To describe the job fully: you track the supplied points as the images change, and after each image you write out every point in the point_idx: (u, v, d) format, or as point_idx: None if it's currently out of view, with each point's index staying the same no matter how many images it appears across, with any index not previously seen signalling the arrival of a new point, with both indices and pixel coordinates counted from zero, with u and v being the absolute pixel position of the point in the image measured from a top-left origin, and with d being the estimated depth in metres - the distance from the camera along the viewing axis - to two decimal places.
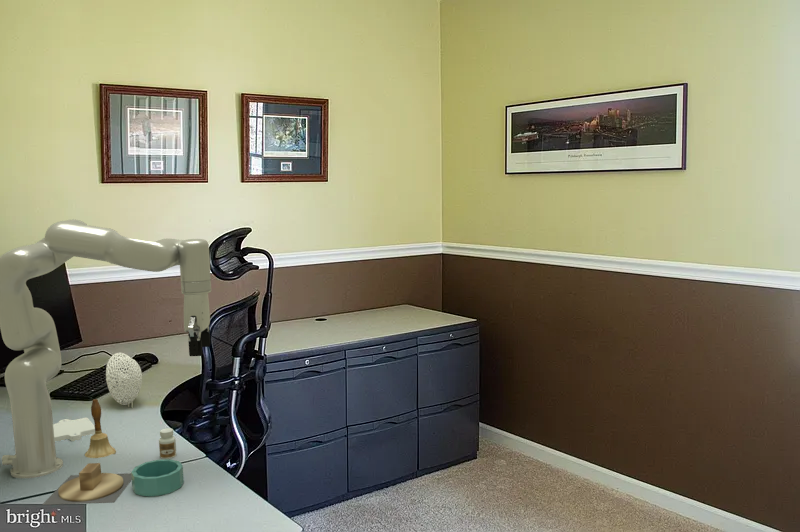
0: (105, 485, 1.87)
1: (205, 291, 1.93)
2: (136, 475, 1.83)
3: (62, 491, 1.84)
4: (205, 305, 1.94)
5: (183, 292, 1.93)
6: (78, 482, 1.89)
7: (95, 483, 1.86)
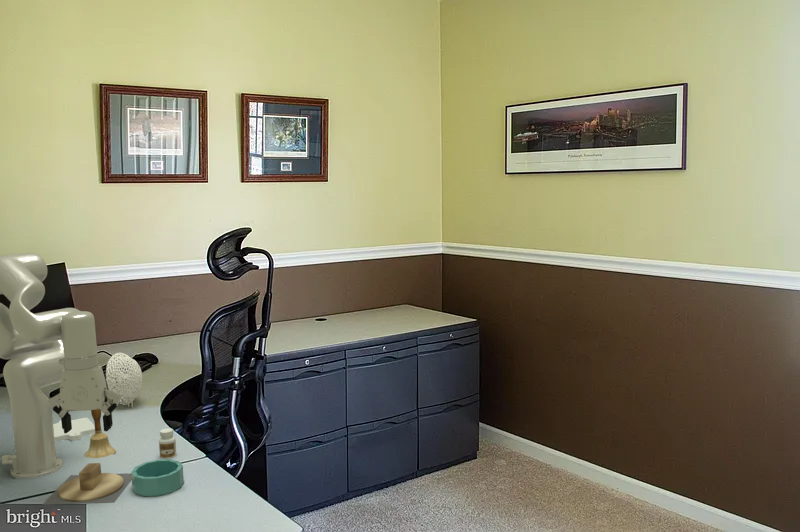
0: (105, 485, 1.87)
1: None
2: (136, 475, 1.83)
3: (62, 491, 1.84)
4: None
5: (88, 368, 1.80)
6: (78, 482, 1.89)
7: (95, 483, 1.86)
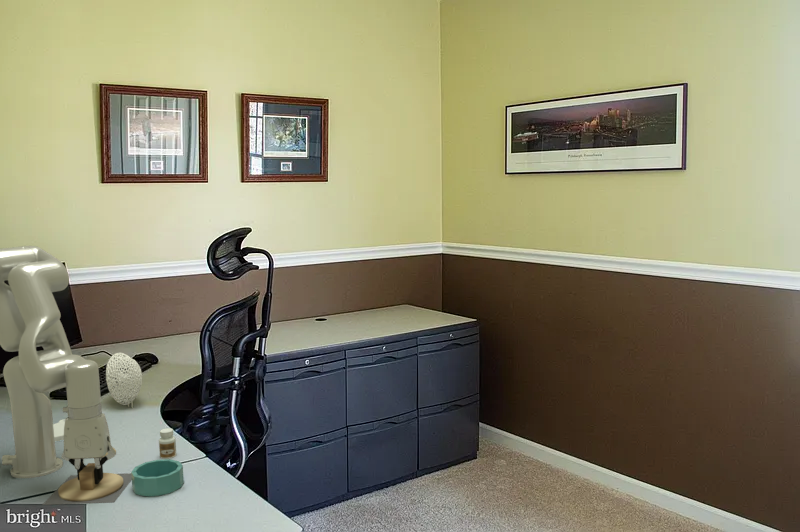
0: (105, 485, 1.87)
1: None
2: (136, 475, 1.83)
3: (62, 491, 1.84)
4: None
5: (91, 418, 1.82)
6: (78, 481, 1.89)
7: None
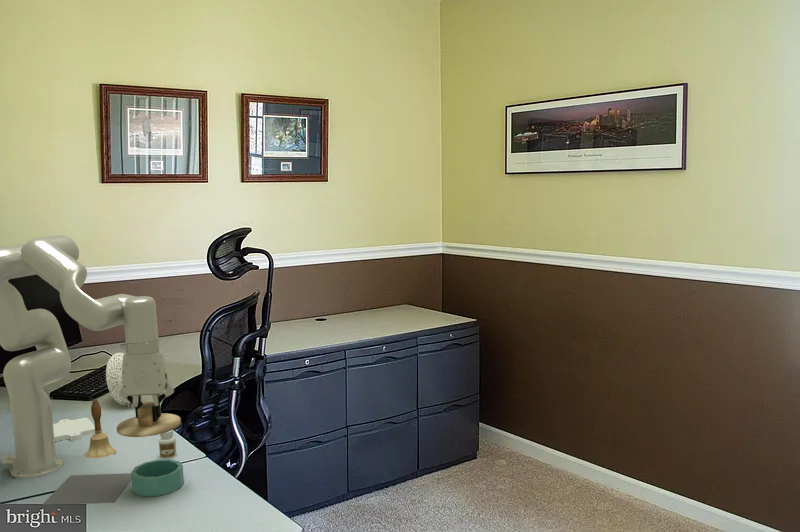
0: (162, 422, 1.85)
1: None
2: (136, 475, 1.83)
3: (120, 428, 1.82)
4: None
5: (150, 353, 1.80)
6: (135, 420, 1.87)
7: None
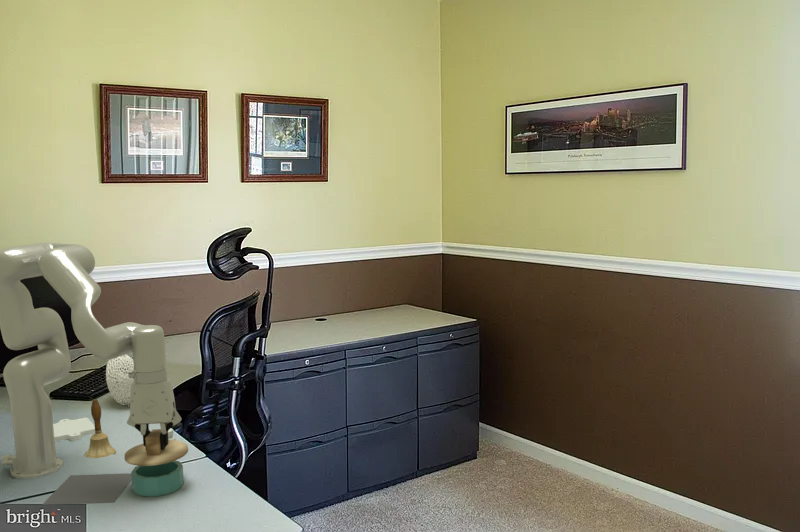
0: (170, 450, 1.86)
1: None
2: (136, 475, 1.83)
3: (128, 456, 1.83)
4: None
5: (158, 382, 1.81)
6: (143, 448, 1.88)
7: None
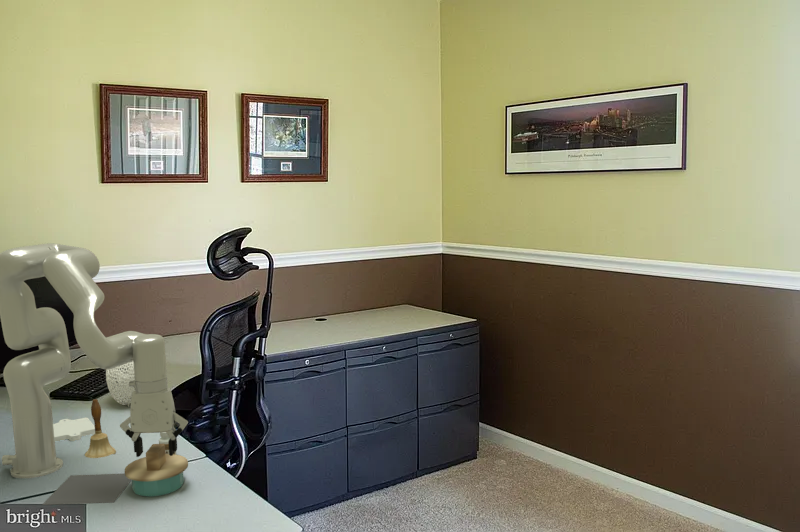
0: (170, 465, 1.87)
1: None
2: None
3: (128, 471, 1.83)
4: None
5: (158, 392, 1.81)
6: (143, 462, 1.89)
7: (161, 463, 1.86)
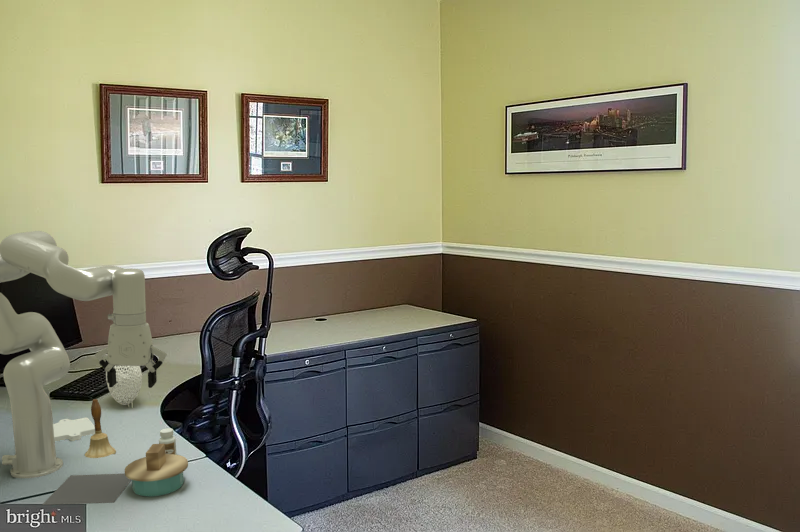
0: (170, 465, 1.87)
1: None
2: None
3: (128, 471, 1.83)
4: None
5: (136, 325, 1.83)
6: (143, 462, 1.89)
7: (161, 463, 1.86)
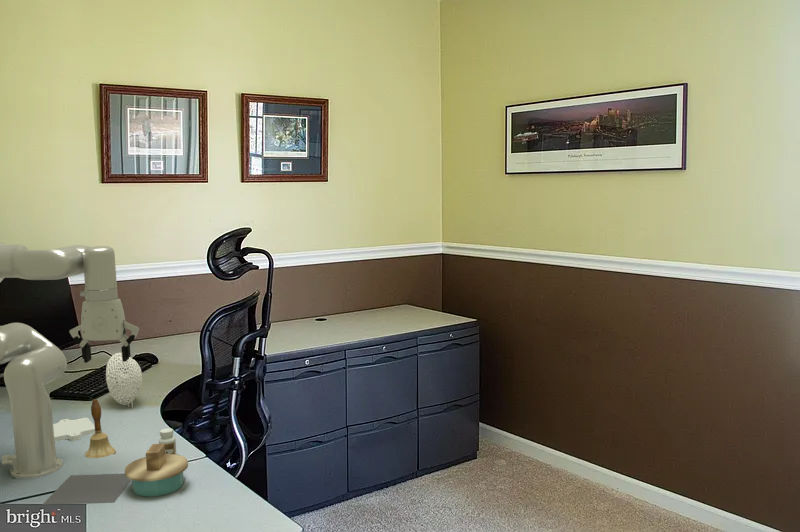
0: (170, 465, 1.87)
1: None
2: None
3: (128, 471, 1.83)
4: None
5: (108, 300, 1.88)
6: (143, 462, 1.89)
7: (161, 463, 1.86)
